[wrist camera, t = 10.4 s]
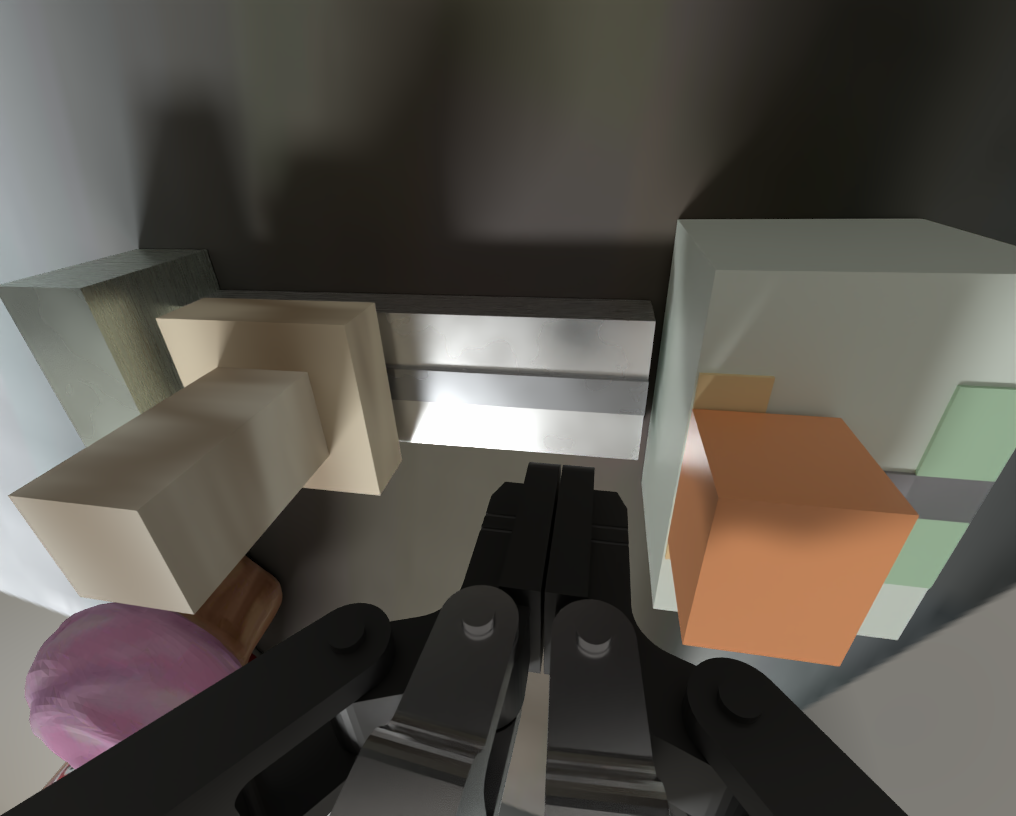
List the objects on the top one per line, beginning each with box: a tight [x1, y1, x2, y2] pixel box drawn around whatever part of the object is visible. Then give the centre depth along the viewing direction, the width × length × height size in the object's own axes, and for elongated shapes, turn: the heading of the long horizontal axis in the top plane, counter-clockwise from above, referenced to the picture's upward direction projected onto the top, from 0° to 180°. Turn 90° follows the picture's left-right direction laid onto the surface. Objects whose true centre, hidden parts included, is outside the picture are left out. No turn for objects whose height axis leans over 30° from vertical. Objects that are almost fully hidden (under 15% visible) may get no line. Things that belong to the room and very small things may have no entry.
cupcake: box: [25, 555, 283, 769], centre depth 23 cm, size 9×9×10 cm
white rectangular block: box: [642, 219, 1016, 640], centre depth 14 cm, size 6×10×6 cm, turn 2°
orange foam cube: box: [668, 409, 919, 666], centre depth 10 cm, size 3×4×3 cm
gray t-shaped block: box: [0, 249, 656, 460], centre depth 16 cm, size 19×8×5 cm, turn 92°
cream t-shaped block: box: [8, 298, 402, 615], centre depth 13 cm, size 6×6×8 cm
